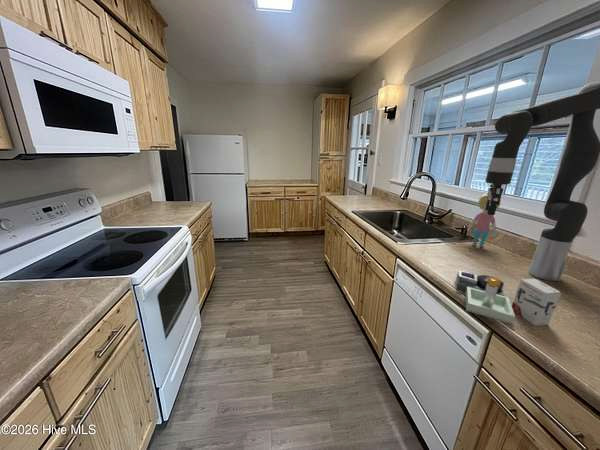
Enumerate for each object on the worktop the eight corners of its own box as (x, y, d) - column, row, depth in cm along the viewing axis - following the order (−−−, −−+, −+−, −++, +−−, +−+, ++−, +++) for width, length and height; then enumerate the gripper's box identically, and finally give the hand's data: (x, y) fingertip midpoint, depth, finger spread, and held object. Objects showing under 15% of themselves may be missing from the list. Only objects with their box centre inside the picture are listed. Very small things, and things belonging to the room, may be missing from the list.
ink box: (509, 308, 82) (519, 278, 79) (522, 308, 83) (533, 277, 79) (535, 326, 74) (547, 293, 71) (549, 325, 75) (562, 292, 71)
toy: (492, 247, 135) (507, 194, 126) (492, 252, 128) (508, 196, 119) (464, 241, 143) (476, 191, 134) (462, 246, 136) (475, 193, 127)
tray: (506, 304, 84) (508, 297, 84) (512, 324, 75) (515, 316, 74) (465, 293, 90) (467, 286, 90) (466, 310, 81) (468, 303, 80)
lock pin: (492, 305, 83) (500, 279, 80) (493, 310, 80) (501, 283, 77) (480, 301, 85) (487, 276, 82) (481, 306, 82) (488, 280, 79)
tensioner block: (498, 289, 94) (502, 276, 92) (502, 302, 86) (506, 288, 84) (456, 278, 101) (459, 266, 99) (455, 289, 93) (459, 277, 91)
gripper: (517, 172, 82) (504, 218, 87) (510, 170, 94) (498, 210, 99) (490, 171, 86) (479, 215, 91) (486, 168, 98) (476, 207, 103)
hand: (489, 212), depth 95 cm, fingers open, 8 cm apart
